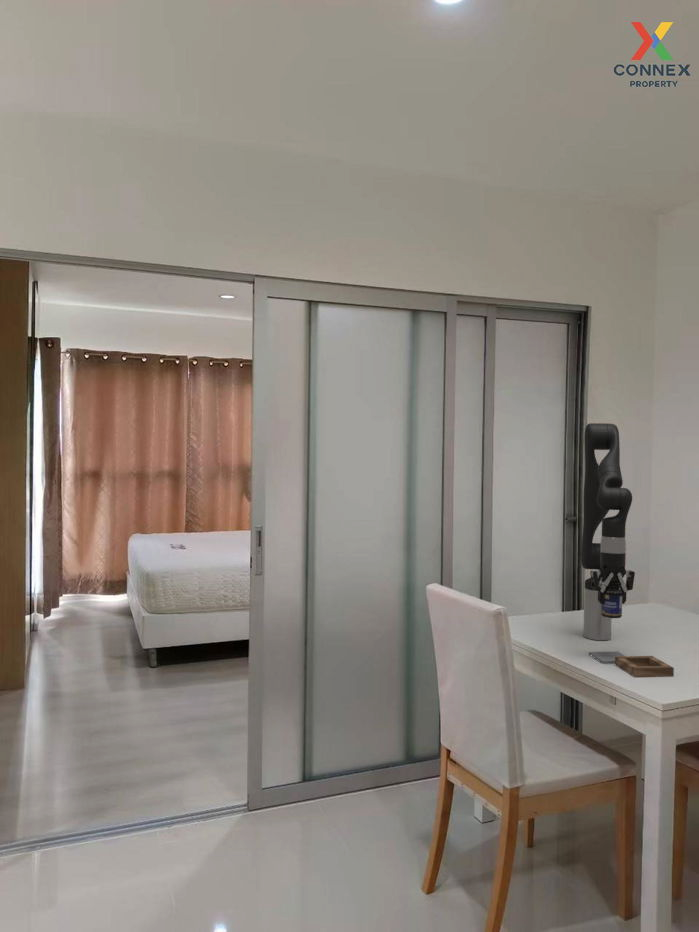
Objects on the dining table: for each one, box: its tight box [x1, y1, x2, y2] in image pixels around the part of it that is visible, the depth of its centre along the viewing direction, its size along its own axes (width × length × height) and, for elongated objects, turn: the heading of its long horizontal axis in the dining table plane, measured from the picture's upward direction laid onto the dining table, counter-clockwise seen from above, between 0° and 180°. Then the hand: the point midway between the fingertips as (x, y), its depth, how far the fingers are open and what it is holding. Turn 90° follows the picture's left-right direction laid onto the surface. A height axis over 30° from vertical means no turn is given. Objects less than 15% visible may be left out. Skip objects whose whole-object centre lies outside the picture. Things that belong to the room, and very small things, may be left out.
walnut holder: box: [614, 655, 675, 678], centre depth 216 cm, size 12×12×2 cm
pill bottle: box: [601, 582, 623, 619], centre depth 227 cm, size 6×6×11 cm
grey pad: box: [588, 651, 626, 664], centre depth 228 cm, size 10×10×1 cm
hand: (611, 603), depth 227 cm, fingers closed on pill bottle, 6 cm apart
